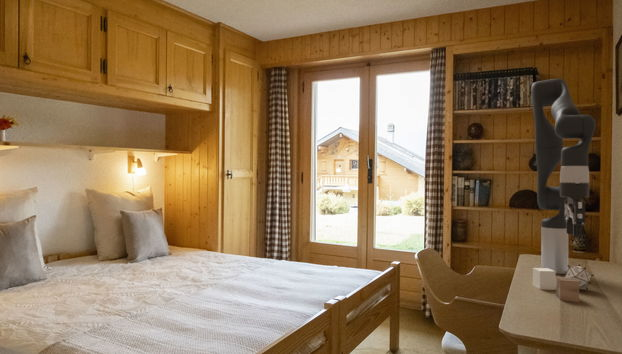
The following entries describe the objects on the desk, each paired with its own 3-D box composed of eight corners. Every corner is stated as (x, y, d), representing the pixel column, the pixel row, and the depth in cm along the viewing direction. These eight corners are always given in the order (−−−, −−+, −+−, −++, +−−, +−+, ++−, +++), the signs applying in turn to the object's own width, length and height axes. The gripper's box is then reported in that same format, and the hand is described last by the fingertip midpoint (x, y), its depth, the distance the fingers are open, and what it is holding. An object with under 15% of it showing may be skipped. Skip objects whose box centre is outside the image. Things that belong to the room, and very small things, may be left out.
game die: (584, 302, 140) (602, 281, 134) (557, 291, 142) (574, 270, 136) (580, 283, 147) (597, 263, 142) (555, 273, 149) (570, 252, 143)
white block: (532, 285, 146) (532, 268, 146) (548, 286, 146) (548, 268, 146) (539, 289, 141) (539, 271, 141) (555, 289, 141) (555, 271, 141)
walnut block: (556, 296, 133) (556, 276, 133) (574, 297, 132) (574, 277, 132) (559, 300, 129) (560, 280, 129) (579, 301, 127) (579, 281, 127)
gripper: (555, 181, 138) (555, 232, 138) (565, 181, 124) (565, 237, 124) (582, 181, 135) (582, 233, 135) (595, 181, 122) (595, 239, 122)
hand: (574, 235), depth 130 cm, fingers open, 8 cm apart
